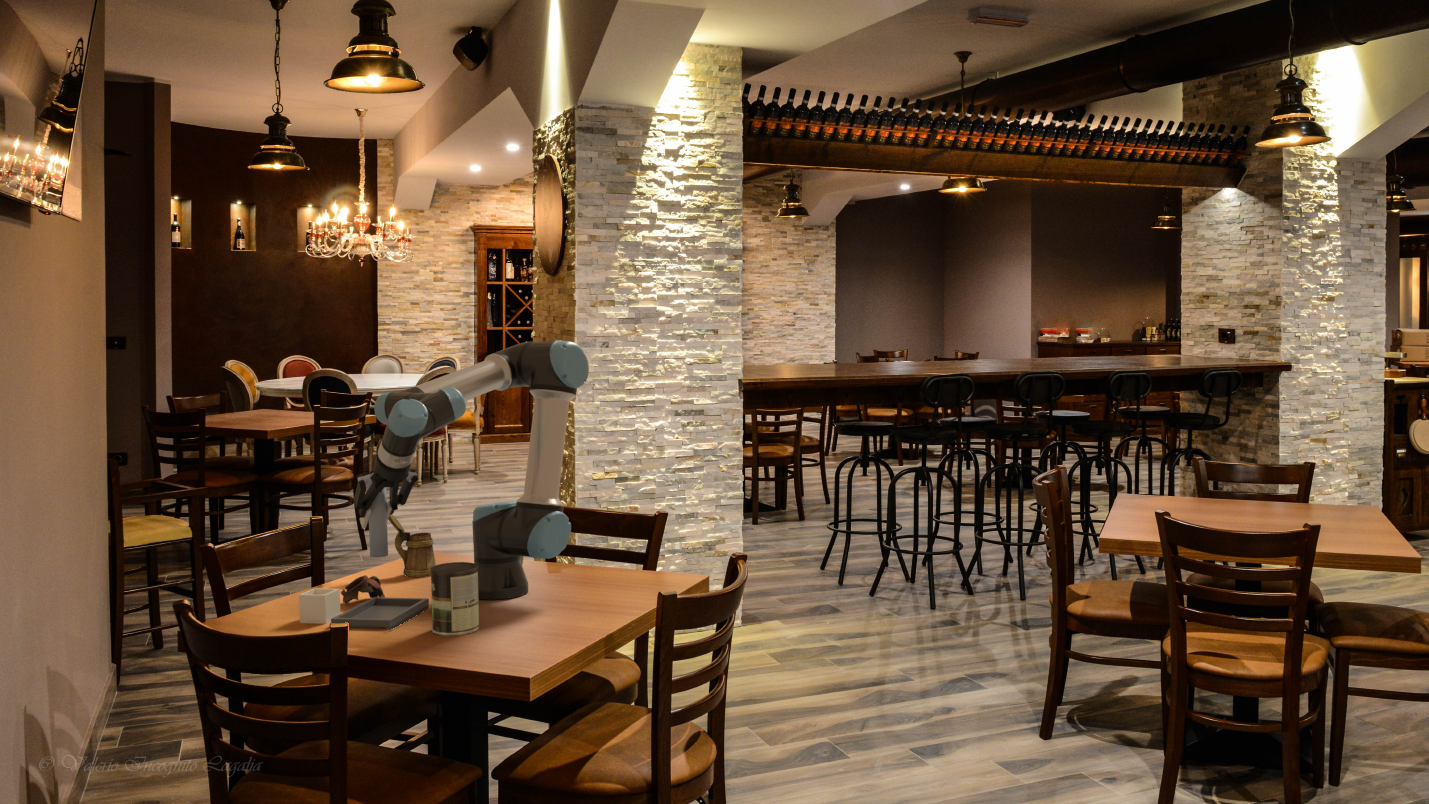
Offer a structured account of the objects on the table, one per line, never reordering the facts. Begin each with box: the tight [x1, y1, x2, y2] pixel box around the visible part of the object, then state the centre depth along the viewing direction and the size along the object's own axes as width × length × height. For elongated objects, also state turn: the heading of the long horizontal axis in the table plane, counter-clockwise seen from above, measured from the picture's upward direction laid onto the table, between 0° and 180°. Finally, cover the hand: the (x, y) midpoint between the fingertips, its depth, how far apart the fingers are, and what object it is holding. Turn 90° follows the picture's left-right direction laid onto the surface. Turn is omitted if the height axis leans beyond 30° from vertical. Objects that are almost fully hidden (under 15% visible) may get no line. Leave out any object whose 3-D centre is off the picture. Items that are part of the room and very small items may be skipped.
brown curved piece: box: [340, 574, 386, 605], centre depth 251 cm, size 12×10×8 cm
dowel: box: [367, 480, 389, 558], centre depth 235 cm, size 4×4×18 cm
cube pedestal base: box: [298, 587, 341, 625], centre depth 235 cm, size 6×6×7 cm
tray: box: [330, 596, 430, 630], centre depth 237 cm, size 14×20×2 cm
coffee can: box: [430, 561, 480, 637], centre depth 226 cm, size 10×10×14 cm
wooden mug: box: [388, 514, 437, 578], centre depth 284 cm, size 9×14×18 cm, turn 99°
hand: (372, 522), depth 239 cm, fingers closed on dowel, 4 cm apart
